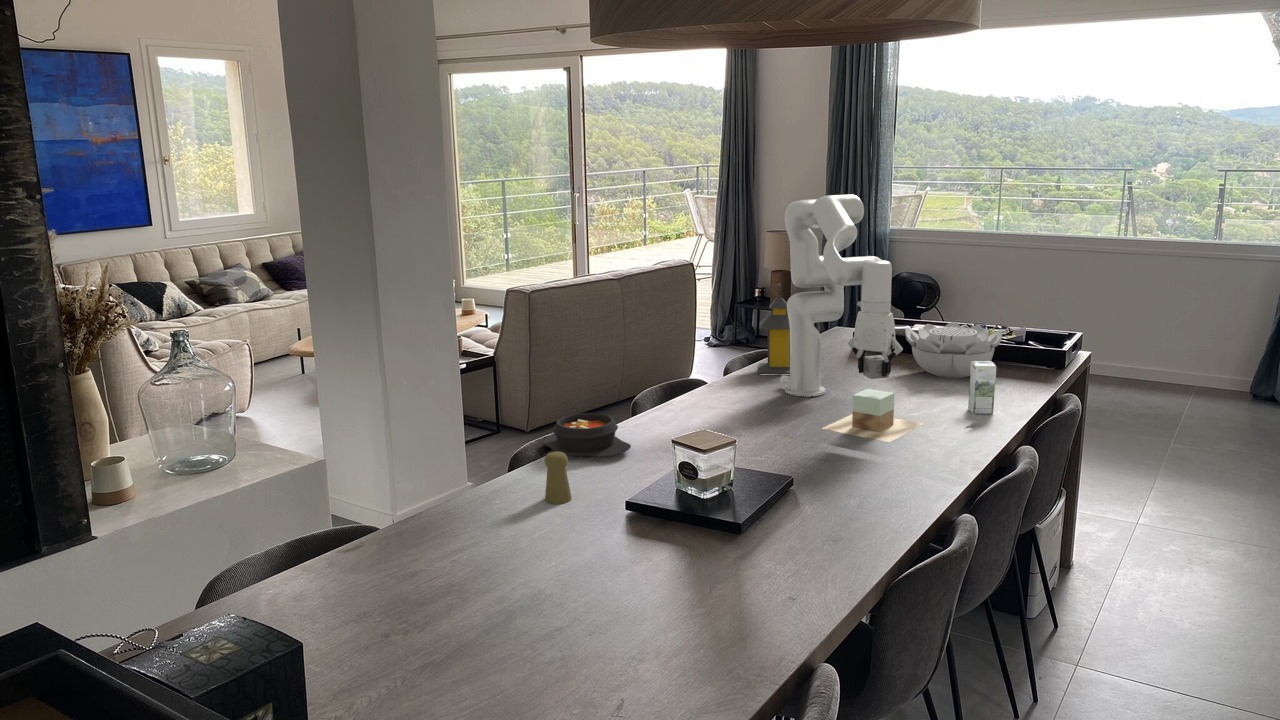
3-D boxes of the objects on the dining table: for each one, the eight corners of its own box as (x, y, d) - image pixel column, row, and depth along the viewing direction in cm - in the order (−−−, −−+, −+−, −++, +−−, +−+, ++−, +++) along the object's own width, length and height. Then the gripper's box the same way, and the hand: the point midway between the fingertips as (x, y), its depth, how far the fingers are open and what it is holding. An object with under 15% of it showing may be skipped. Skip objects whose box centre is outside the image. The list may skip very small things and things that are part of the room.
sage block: (852, 411, 253) (852, 394, 252) (866, 404, 259) (867, 388, 258) (879, 416, 248) (880, 399, 247) (893, 409, 254) (894, 392, 253)
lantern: (758, 375, 318) (758, 287, 311) (759, 365, 332) (758, 281, 325) (800, 375, 316) (801, 287, 309) (799, 365, 330) (800, 280, 323)
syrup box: (988, 409, 272) (991, 360, 268) (993, 414, 266) (996, 365, 262) (967, 409, 272) (970, 360, 269) (972, 415, 266) (975, 365, 263)
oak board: (821, 433, 254) (821, 428, 254) (857, 416, 268) (857, 411, 268) (889, 447, 241) (889, 442, 241) (923, 428, 255) (924, 423, 255)
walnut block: (852, 427, 254) (852, 411, 253) (866, 420, 260) (866, 404, 259) (879, 432, 249) (879, 416, 248) (893, 425, 255) (893, 409, 254)
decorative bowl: (920, 360, 331) (921, 318, 328) (1007, 370, 314) (1010, 326, 310) (887, 379, 307) (888, 334, 304) (980, 391, 290) (983, 343, 287)
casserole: (645, 449, 246) (644, 418, 244) (601, 470, 232) (599, 437, 230) (573, 434, 261) (571, 405, 259) (526, 453, 246) (525, 422, 244)
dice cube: (870, 379, 248) (871, 360, 247) (862, 374, 253) (863, 356, 252) (888, 377, 249) (889, 359, 248) (880, 373, 254) (880, 355, 253)
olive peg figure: (545, 495, 216) (542, 449, 214) (571, 493, 217) (569, 448, 214) (544, 505, 210) (542, 458, 208) (571, 503, 211) (569, 456, 208)
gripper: (839, 306, 250) (838, 372, 254) (899, 312, 239) (897, 381, 243) (853, 302, 255) (852, 366, 259) (913, 308, 244) (910, 375, 248)
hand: (874, 373), depth 251 cm, fingers closed on dice cube, 6 cm apart
